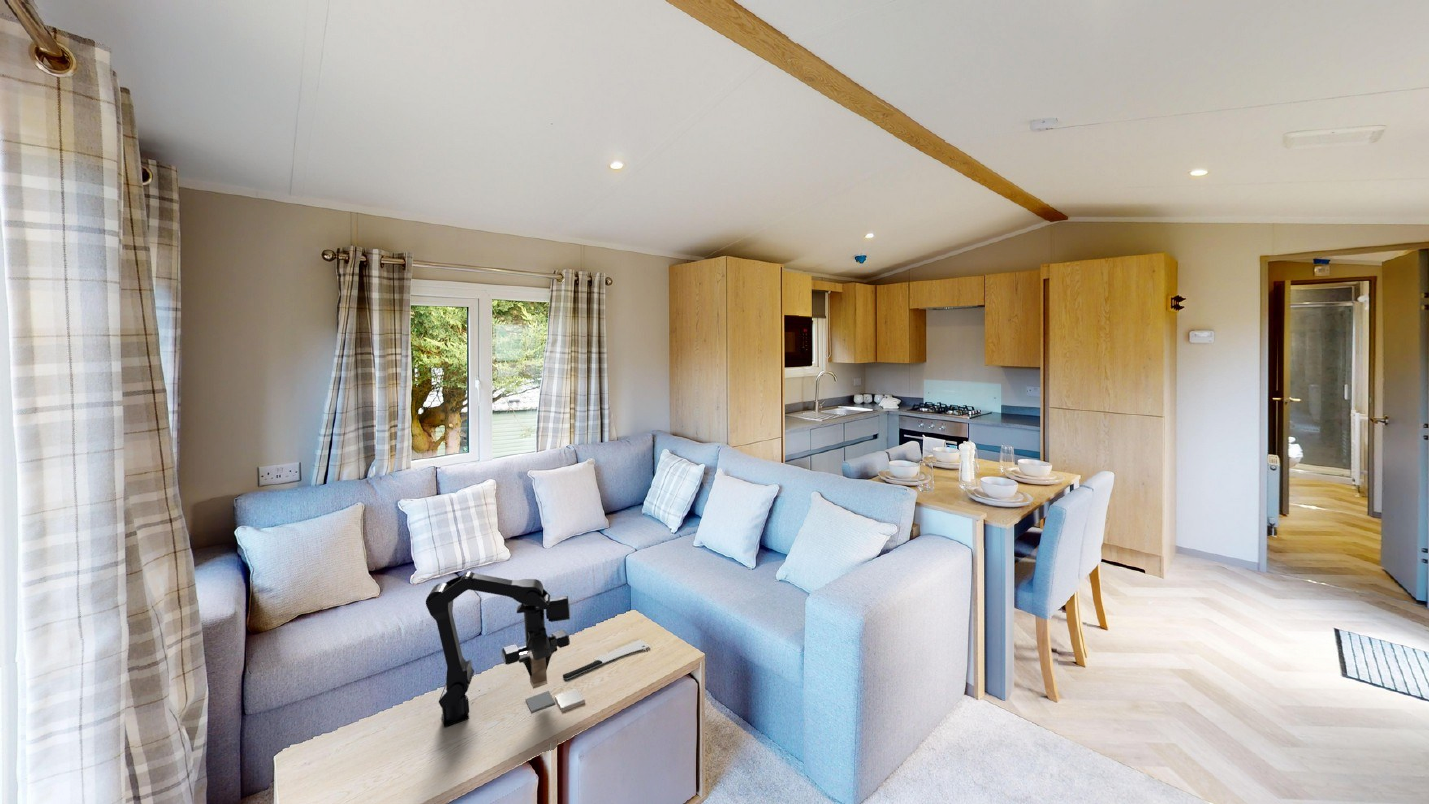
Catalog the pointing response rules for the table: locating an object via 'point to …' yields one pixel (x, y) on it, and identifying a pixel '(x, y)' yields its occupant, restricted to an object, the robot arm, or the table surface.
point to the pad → (540, 701)
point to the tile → (569, 699)
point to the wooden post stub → (538, 671)
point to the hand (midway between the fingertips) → (537, 673)
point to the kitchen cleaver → (607, 658)
